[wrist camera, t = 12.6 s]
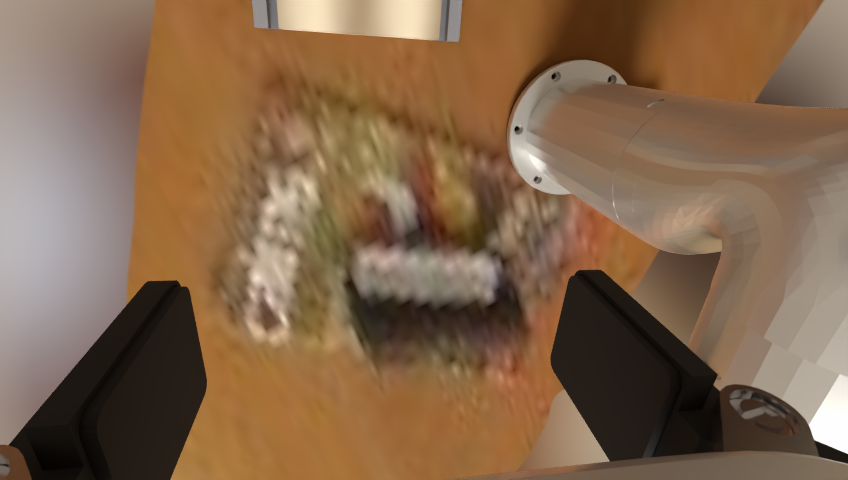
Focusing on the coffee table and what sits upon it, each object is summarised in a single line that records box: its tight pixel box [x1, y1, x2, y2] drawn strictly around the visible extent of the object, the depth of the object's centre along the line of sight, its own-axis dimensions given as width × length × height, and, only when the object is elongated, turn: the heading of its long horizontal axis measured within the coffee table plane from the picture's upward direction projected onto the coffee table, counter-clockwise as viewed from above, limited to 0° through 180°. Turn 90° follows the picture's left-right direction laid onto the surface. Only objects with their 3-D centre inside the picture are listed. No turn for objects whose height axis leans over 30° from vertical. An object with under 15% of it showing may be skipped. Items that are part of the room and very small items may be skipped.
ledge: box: [277, 0, 442, 40], centre depth 32 cm, size 12×4×3 cm, turn 86°
